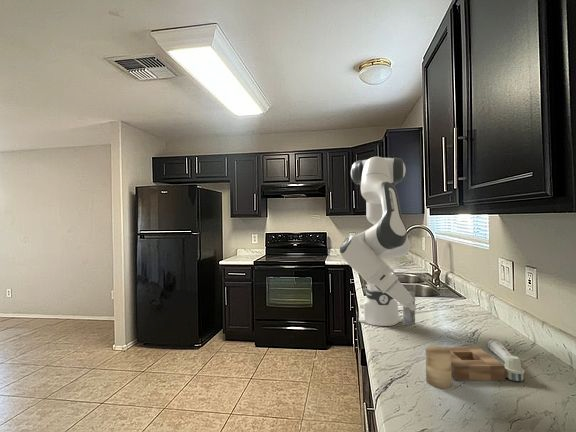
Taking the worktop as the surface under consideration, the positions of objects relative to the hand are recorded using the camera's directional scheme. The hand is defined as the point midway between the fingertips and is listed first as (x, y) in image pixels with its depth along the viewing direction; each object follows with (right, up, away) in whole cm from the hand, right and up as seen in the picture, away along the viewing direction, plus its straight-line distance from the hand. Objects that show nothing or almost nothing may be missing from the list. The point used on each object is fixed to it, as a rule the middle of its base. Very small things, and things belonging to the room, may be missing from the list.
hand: (411, 306), depth 110 cm
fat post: (+2, -17, -15) cm, 23 cm away
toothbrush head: (+28, -17, -4) cm, 33 cm away
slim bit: (-1, -5, 0) cm, 5 cm away
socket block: (+14, -17, -7) cm, 23 cm away
